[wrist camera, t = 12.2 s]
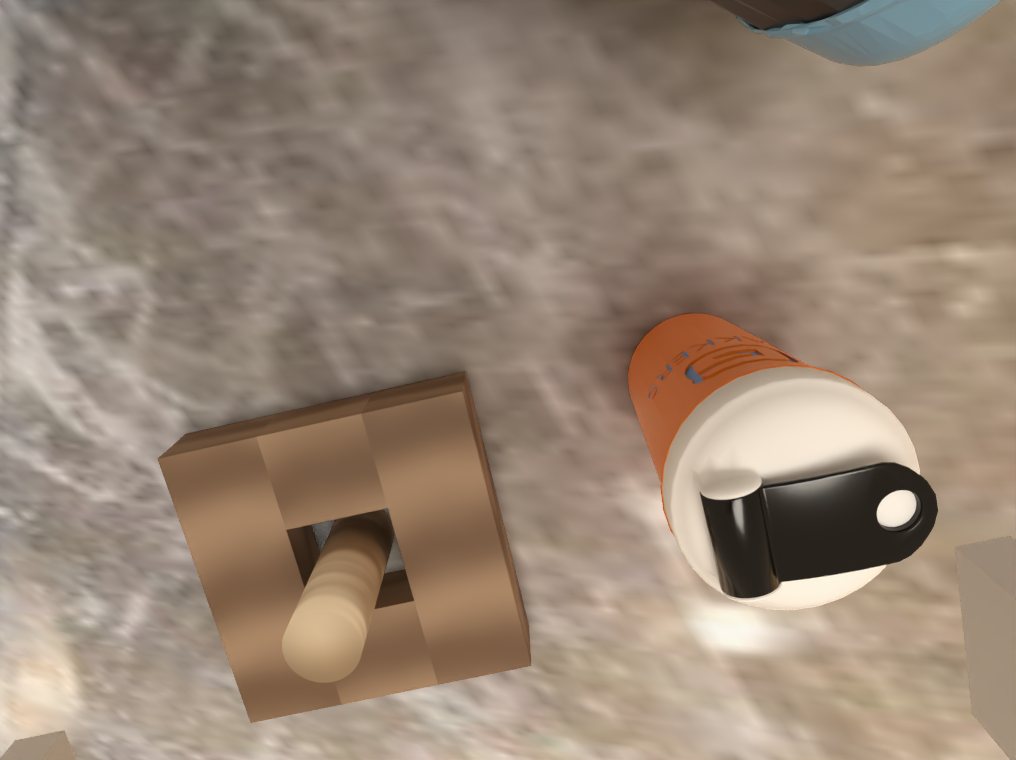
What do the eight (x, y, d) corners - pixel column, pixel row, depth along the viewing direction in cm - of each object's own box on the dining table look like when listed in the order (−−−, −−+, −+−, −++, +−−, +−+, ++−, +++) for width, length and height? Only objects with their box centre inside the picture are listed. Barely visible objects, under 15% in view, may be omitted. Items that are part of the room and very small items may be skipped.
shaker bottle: (794, 416, 48) (993, 596, 28) (644, 476, 49) (738, 690, 29) (741, 268, 46) (917, 354, 26) (585, 334, 46) (644, 463, 27)
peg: (326, 510, 49) (272, 620, 37) (386, 497, 49) (350, 604, 37) (342, 565, 50) (294, 689, 38) (400, 553, 50) (370, 674, 38)
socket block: (185, 434, 48) (157, 458, 44) (465, 371, 47) (462, 391, 43) (269, 680, 52) (250, 722, 48) (528, 626, 51) (531, 665, 47)
